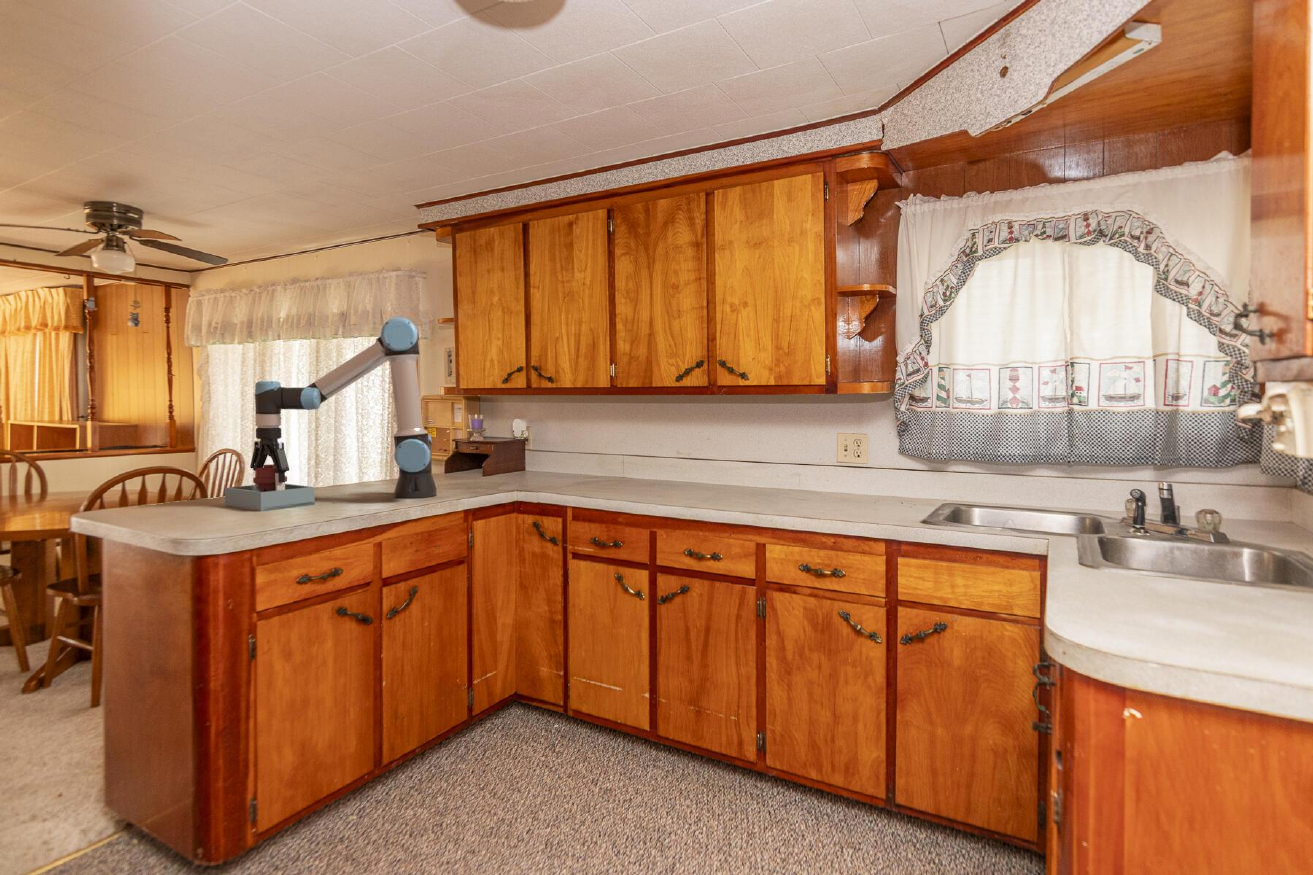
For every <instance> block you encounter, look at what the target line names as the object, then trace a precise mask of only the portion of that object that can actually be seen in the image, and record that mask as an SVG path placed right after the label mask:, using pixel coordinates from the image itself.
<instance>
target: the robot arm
mask: <svg viewBox="0 0 1313 875" xmlns="http://www.w3.org/2000/svg"><path fill="white" fill-rule="evenodd" d="M419 341H420V335H419V332H418V330H417V327H416V325H415V324H414V323H413V322H412V321H411V320H409V319H408V318H404V317H392V318H390V319H388V320H387V321H386V322H384V324H383V325H382V327H381V330H380V336H379V337H376V339H375V343H373V344H371V345H370V346H369V347H367V348H366V349H364V350H362V351H361V352H359V353H358V354H356V355H354V356H353V357H351V358H350V359H348V360H347V361H345V362H343V363H342V364H340V365H338V366H337V367H335V368H334V369H332V370H331V371H329V372H327V373H326V374H325V375H322V377H320V378H318V379H317V380H314V382H312V383H310V384H309V385H307V386H306V387H283V386H281V385H282V384H281V382H279V381H275V380H274V381H273V380H272V381H271V380H270V381H269V380H264V381H263V380H259V381H257V382H255V388H254V392H255V393H254V402H255V404H254V405H255V406H254V407H255V415H254V417H255V427H256V428H255V438H256V439H258V441H257V440H255V441H254V442H253V447H254V448H253V451H252V456H251V462H250V466H249V467H250V469H253V471H254V478H255V477H256V469H257V468H261V467H264V465H266V464H265V463H266V460H268V459H267V458H268V457H270V459H271V461H272V464H274V466H275V468H276V470H277V471H276V472H275V477H276V491H278V490H285V484H286V482H285V476H286V472H289V471H290V467H289V462H288V459H287V455H286V451H285V442H278V441H279V439H282V428H281V426H282V415H281V414H282V410H299V411H300V410H305V411H312V410H318V409H319V408H320V406H321V405H322V404H323V403H325V402H326V401H327V400H328V399H330V398H331V397H334V396H335V395H336V394H338V393H340V392H342V390H344V389H346V388H348V387H349V386H351V385H352V384H354V383H355V382H357V381H358V380H361V379H362V378H363V377H365V376H367V375H368V374H369V373H371V372H373V371H374V370H376V369H377V368H379V367H380V366H382V365H383V364H385V363H387V362H389V363H390V364H389V366H390V375H391V383H392V384H391V385H392V391H393V400H394V401H393V402H394V410H395V419H396V420H395V421H396V430H397V431H396V432H395V433H394V434H393V441H394V455H393V456H394V458H393V459H394V461H395V463H396V465H397V466H398V477H397V480H396V481H397V482H396V484H395V488H394V490H393V491H394V495H393V496H394V497H395V498H401V499H416V498H418V499H419V498H420V499H421V498H430V497H435V496H437V495H438V489H437V487H436V483H435V480H434V477H433V472H432V471H433V470H432V469H433V467H432V466H433V464H432V463H433V458H432V456H433V455H432V454H433V452H432V451H433V450H432V445H433V441H432V436H431V435H430V434H429V432H428V431H427V430H426V429H425V428H424V425H423V416H422V406H421V398H420V389H419V388H420V387H419V377H418V369H417V360H418V359H419V358H420V356H421V352H420V346H419ZM254 485H255V490H259V484H256V483H254Z"/></svg>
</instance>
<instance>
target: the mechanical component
mask: <svg viewBox="0 0 1313 875" xmlns="http://www.w3.org/2000/svg"><path fill="white" fill-rule="evenodd" d="M276 471H277V470H276V468H275V466H274V463H272V464H264V466H263V467H261V468H257V469H256V477H255V476H254V477H253V478H252V479H253V480H252V481H253V483H254V484H255V483H256V484H259V492H268V491H276V477H275V472H276ZM287 481H288V476H287V475H285V483H286V482H287Z"/></svg>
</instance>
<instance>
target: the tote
mask: <svg viewBox="0 0 1313 875" xmlns="http://www.w3.org/2000/svg"><path fill="white" fill-rule="evenodd" d="M313 505H315V486H308V485H300V484H292V483H285V490H278V491H268V492H259V490H255V484H251V485H250V484H249V485H239V486H230V487H229V486H227V487H224V506H227V507H231V508H237V509H238V508H239V509H244V510H251V511H255V512H266V511H274V510H284V509H290V508H291V509H292V508H297V507H298V508H299V507H306V506H307V507H308V506H313Z"/></svg>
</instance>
